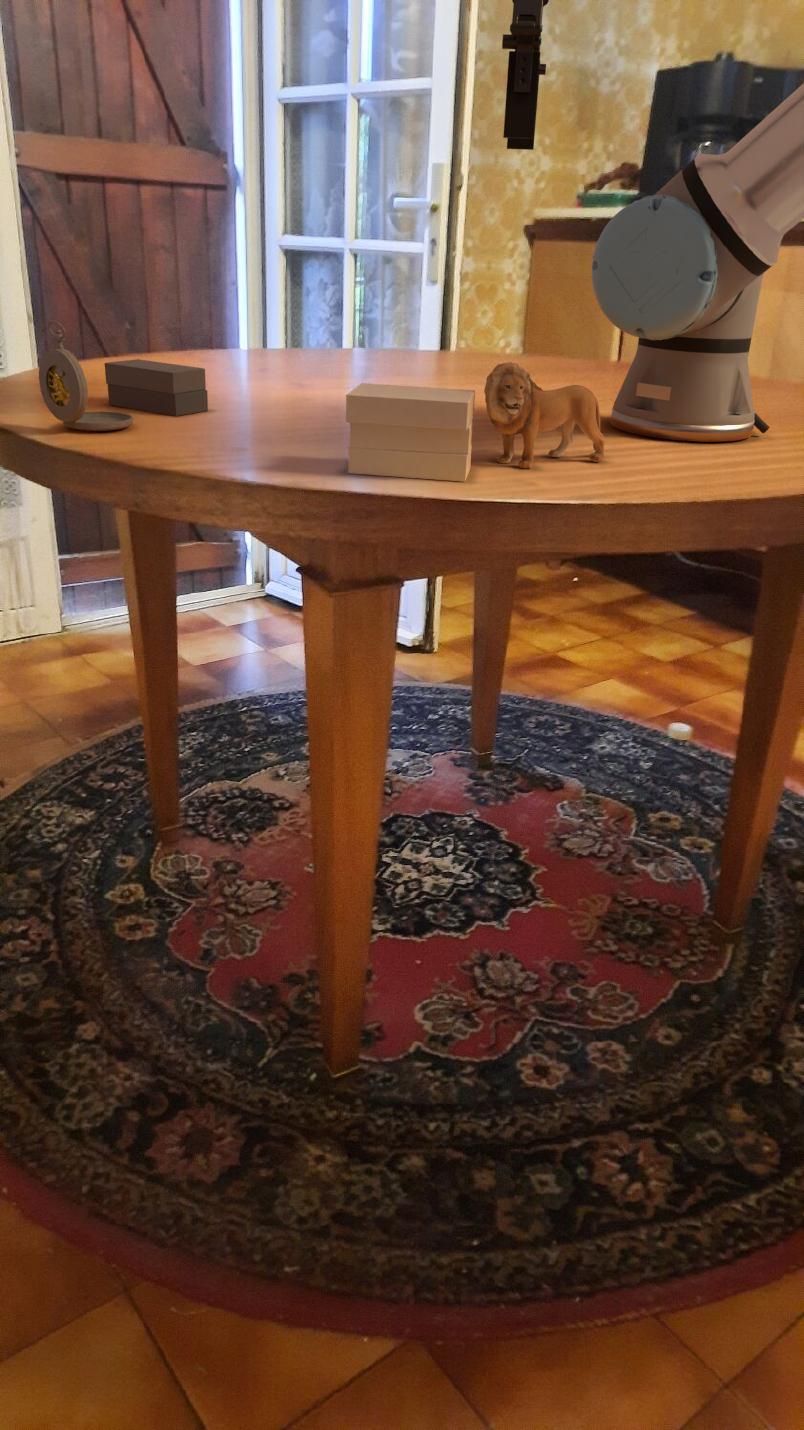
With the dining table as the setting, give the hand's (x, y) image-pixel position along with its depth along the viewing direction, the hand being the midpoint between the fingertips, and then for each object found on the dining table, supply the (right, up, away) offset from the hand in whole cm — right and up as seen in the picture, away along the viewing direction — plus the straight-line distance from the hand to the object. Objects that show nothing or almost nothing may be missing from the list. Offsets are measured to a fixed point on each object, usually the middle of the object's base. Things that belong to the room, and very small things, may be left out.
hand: (519, 144), depth 97 cm
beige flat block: (-10, -30, -11) cm, 33 cm away
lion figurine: (+2, -32, -4) cm, 32 cm away
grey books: (-38, -21, +14) cm, 46 cm away
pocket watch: (-42, -27, +2) cm, 50 cm away
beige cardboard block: (-10, -34, -9) cm, 36 cm away
